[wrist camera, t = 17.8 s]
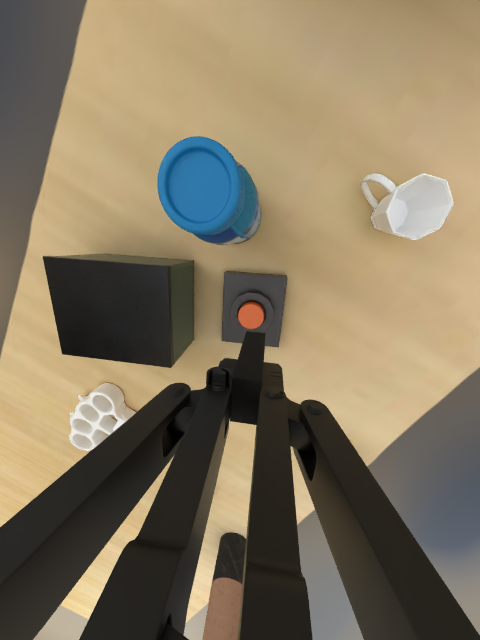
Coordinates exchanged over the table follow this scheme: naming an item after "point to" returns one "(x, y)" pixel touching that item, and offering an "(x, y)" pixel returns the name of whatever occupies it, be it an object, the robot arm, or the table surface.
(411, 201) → the cup
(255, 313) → the button
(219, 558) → the travel mug
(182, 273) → the green box
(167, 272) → the box lid
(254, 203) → the beverage bottle
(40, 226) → the table surface
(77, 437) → the white holed block
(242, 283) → the control pad
